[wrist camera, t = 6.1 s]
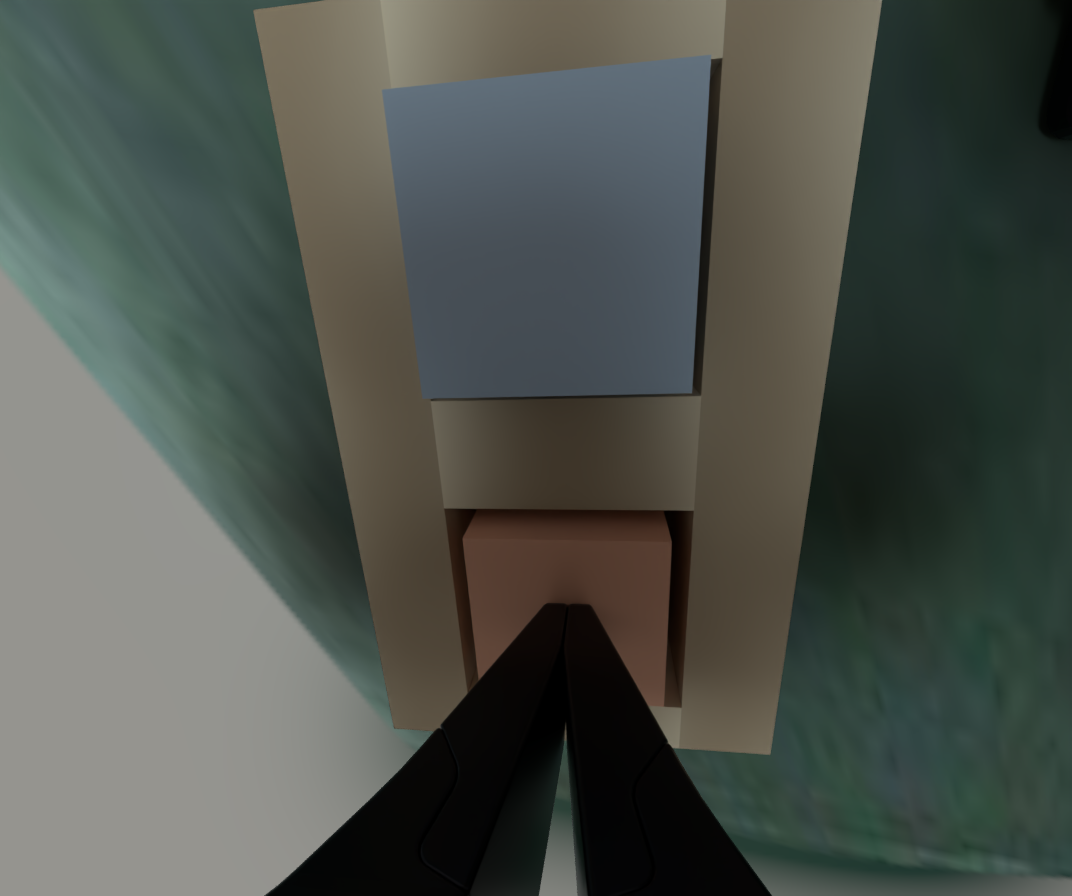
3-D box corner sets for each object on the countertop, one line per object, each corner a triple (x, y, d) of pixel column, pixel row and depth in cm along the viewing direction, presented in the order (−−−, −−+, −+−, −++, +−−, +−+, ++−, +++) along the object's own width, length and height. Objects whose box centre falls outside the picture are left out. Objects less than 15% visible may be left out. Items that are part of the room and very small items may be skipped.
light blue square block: (673, 126, 8) (711, 54, 5) (665, 356, 9) (692, 392, 6) (450, 145, 8) (382, 89, 6) (471, 362, 9) (422, 398, 7)
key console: (777, 60, 9) (892, -76, 6) (723, 623, 14) (770, 754, 10) (376, 102, 10) (253, 10, 7) (445, 612, 15) (394, 728, 11)
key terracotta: (654, 476, 11) (671, 541, 8) (649, 612, 12) (664, 706, 9) (493, 475, 11) (462, 538, 9) (505, 606, 13) (480, 695, 10)
